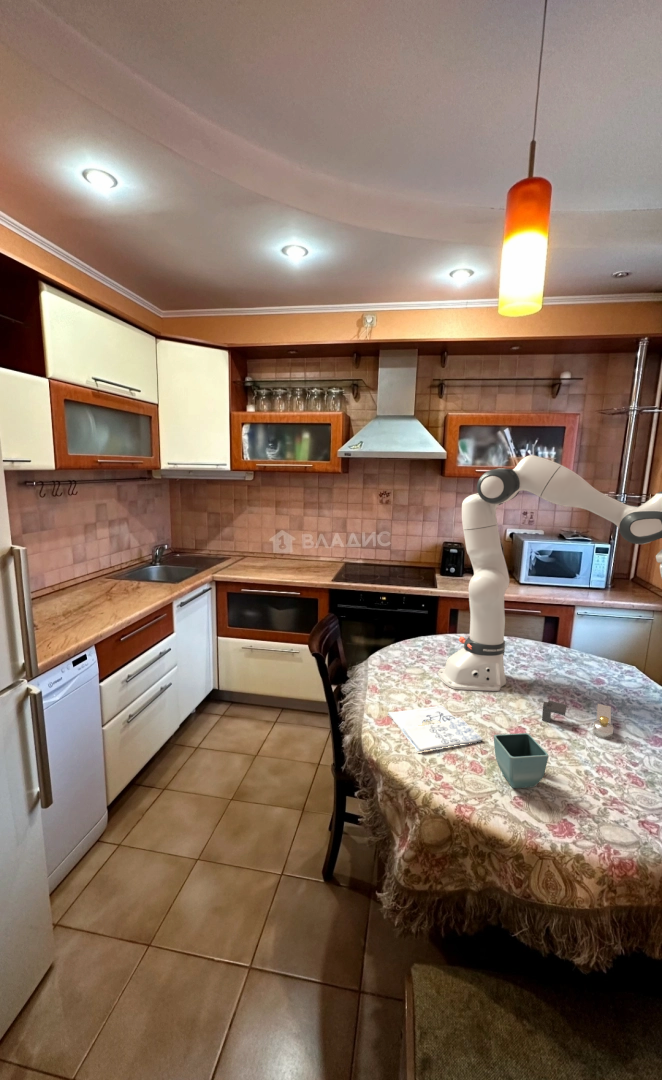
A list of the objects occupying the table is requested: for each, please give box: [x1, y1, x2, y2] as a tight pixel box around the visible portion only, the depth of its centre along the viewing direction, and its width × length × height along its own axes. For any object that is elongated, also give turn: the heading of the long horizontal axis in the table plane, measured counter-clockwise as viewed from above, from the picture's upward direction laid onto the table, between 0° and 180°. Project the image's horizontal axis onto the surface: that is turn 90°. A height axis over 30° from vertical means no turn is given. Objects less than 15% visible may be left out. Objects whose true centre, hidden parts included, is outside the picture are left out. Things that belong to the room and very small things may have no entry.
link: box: [592, 703, 614, 740], centre depth 120 cm, size 14×4×3 cm, turn 148°
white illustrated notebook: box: [387, 704, 484, 753], centre depth 121 cm, size 19×20×2 cm
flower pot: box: [493, 732, 550, 789], centre depth 99 cm, size 9×9×9 cm
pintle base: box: [541, 700, 609, 726], centre depth 120 cm, size 18×19×6 cm
